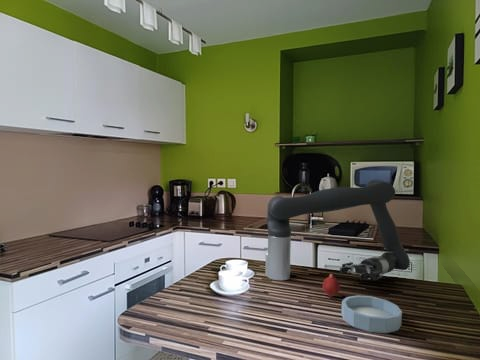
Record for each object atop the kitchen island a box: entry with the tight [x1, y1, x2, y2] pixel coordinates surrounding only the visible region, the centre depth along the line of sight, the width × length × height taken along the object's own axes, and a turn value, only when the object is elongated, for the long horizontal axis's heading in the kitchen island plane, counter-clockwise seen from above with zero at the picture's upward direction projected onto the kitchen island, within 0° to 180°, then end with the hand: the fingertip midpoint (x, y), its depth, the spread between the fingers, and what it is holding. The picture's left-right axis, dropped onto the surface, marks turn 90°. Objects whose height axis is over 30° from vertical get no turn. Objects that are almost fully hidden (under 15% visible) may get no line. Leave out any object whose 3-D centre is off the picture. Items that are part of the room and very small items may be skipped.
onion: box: [322, 274, 341, 298], centre depth 114 cm, size 6×6×8 cm
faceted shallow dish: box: [341, 294, 403, 334], centre depth 97 cm, size 16×16×4 cm
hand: (350, 274), depth 121 cm, fingers open, 8 cm apart
